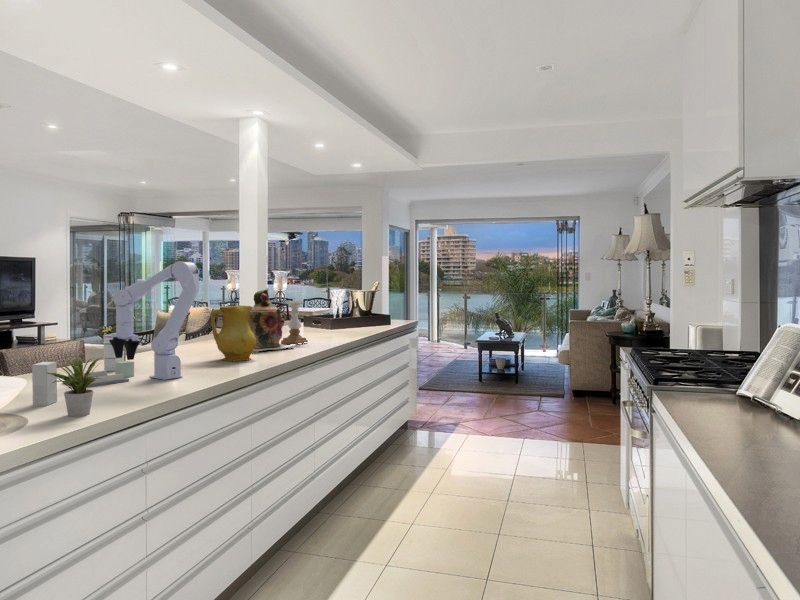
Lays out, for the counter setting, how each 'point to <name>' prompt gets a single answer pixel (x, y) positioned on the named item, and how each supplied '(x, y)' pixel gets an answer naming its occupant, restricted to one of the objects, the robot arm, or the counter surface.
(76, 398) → the house plant
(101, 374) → the rail board
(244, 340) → the pitcher
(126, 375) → the block
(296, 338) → the candle holder
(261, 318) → the cookie jar
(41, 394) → the skincare box
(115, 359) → the syrup box
